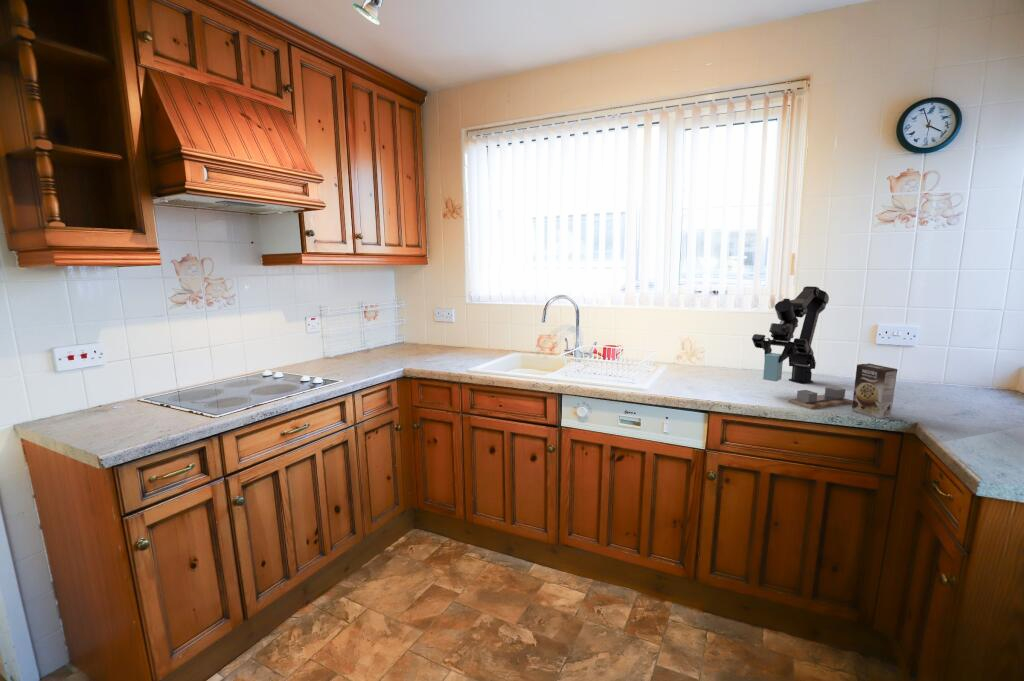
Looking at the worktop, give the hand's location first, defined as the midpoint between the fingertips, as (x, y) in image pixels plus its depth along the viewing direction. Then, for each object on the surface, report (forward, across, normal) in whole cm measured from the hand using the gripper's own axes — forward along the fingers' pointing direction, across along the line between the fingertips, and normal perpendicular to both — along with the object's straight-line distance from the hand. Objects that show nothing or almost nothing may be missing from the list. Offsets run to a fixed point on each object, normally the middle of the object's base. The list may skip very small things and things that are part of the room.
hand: (772, 361), depth 178 cm
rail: (+6, +15, +13) cm, 21 cm away
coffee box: (+8, +31, +12) cm, 34 cm away
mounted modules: (+5, +15, +12) cm, 20 cm away
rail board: (+6, +15, +13) cm, 21 cm away
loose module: (+4, 0, +6) cm, 7 cm away
